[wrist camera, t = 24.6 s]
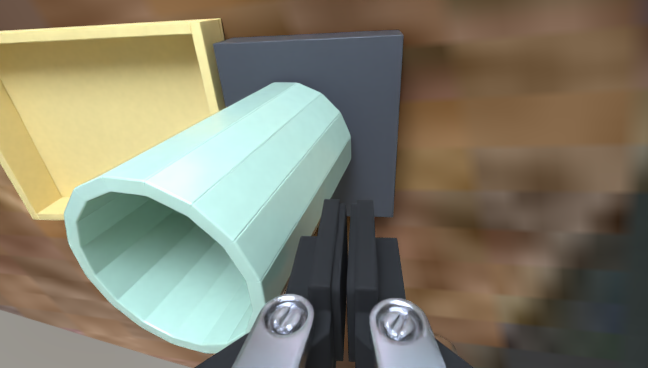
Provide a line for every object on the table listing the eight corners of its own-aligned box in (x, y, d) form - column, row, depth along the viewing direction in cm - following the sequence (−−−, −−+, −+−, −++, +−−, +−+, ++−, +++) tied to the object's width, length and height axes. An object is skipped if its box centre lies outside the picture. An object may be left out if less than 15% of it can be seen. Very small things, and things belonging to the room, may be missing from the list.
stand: (398, 29, 19) (403, 34, 16) (390, 194, 24) (393, 217, 22) (232, 37, 20) (212, 43, 18) (259, 192, 26) (246, 214, 23)
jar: (350, 82, 17) (242, 191, 7) (352, 200, 20) (279, 374, 11) (228, 81, 19) (25, 167, 9) (249, 189, 22) (114, 328, 13)
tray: (220, 18, 20) (199, 21, 17) (255, 203, 26) (243, 225, 24) (-25, 32, 22) (-75, 36, 19) (62, 200, 28) (32, 219, 26)
